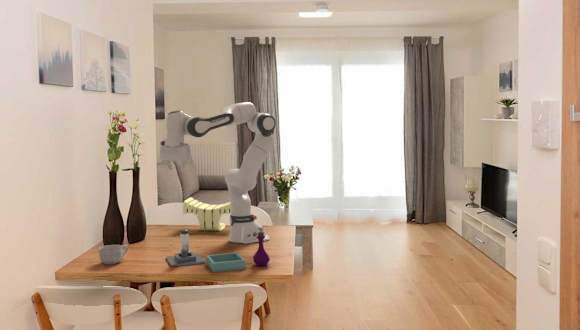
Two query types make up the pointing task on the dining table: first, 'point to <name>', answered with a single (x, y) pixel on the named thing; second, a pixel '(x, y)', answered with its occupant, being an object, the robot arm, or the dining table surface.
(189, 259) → the tensioner plate
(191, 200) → the slatted curved stool
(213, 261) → the tray
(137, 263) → the dining table surface
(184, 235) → the lock pin
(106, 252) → the teacup
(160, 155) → the robot arm
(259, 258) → the perfume bottle
